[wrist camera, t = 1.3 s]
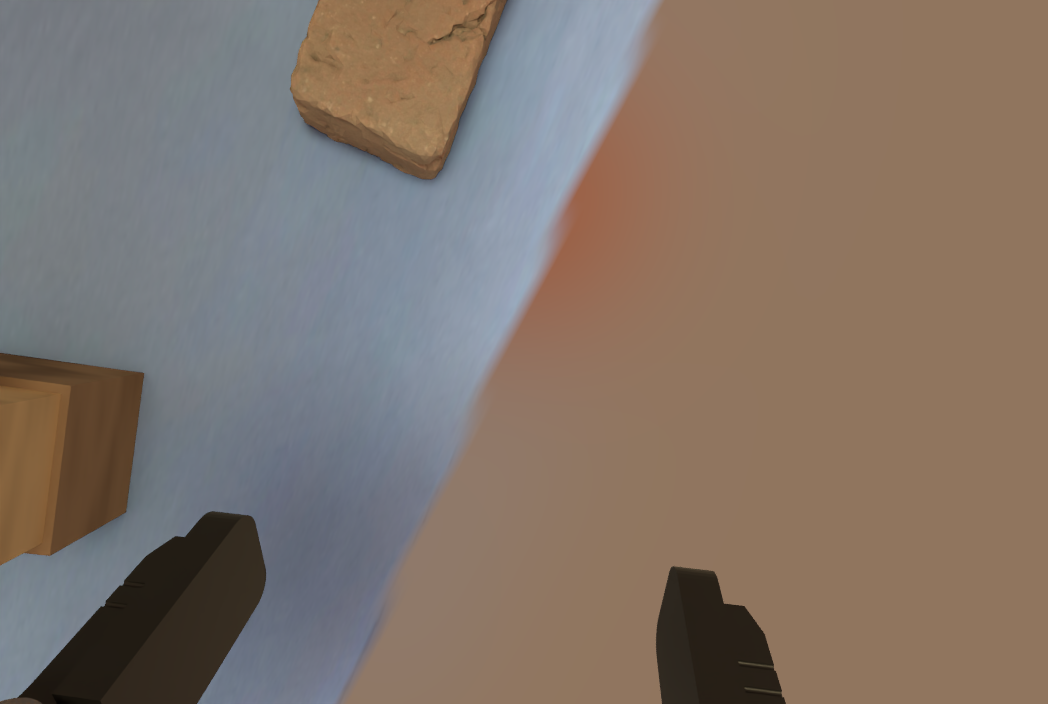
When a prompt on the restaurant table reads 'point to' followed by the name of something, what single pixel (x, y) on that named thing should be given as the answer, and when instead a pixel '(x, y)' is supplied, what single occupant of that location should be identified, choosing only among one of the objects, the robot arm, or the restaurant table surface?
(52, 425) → the oak top block
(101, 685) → the robot arm
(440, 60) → the brick
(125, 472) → the walnut base block
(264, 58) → the restaurant table surface
